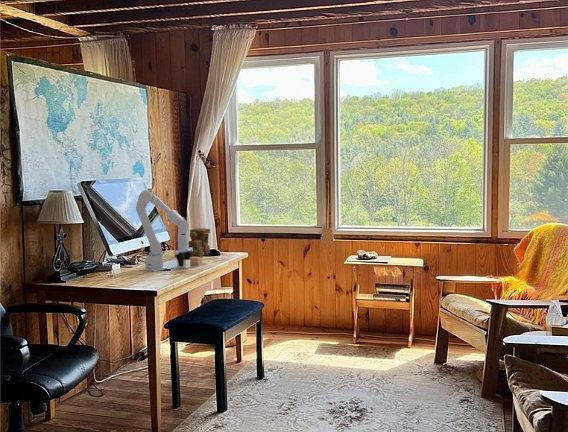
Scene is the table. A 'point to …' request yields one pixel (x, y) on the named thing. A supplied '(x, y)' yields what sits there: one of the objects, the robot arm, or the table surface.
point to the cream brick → (184, 264)
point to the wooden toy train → (199, 241)
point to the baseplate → (193, 263)
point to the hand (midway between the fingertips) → (183, 265)
